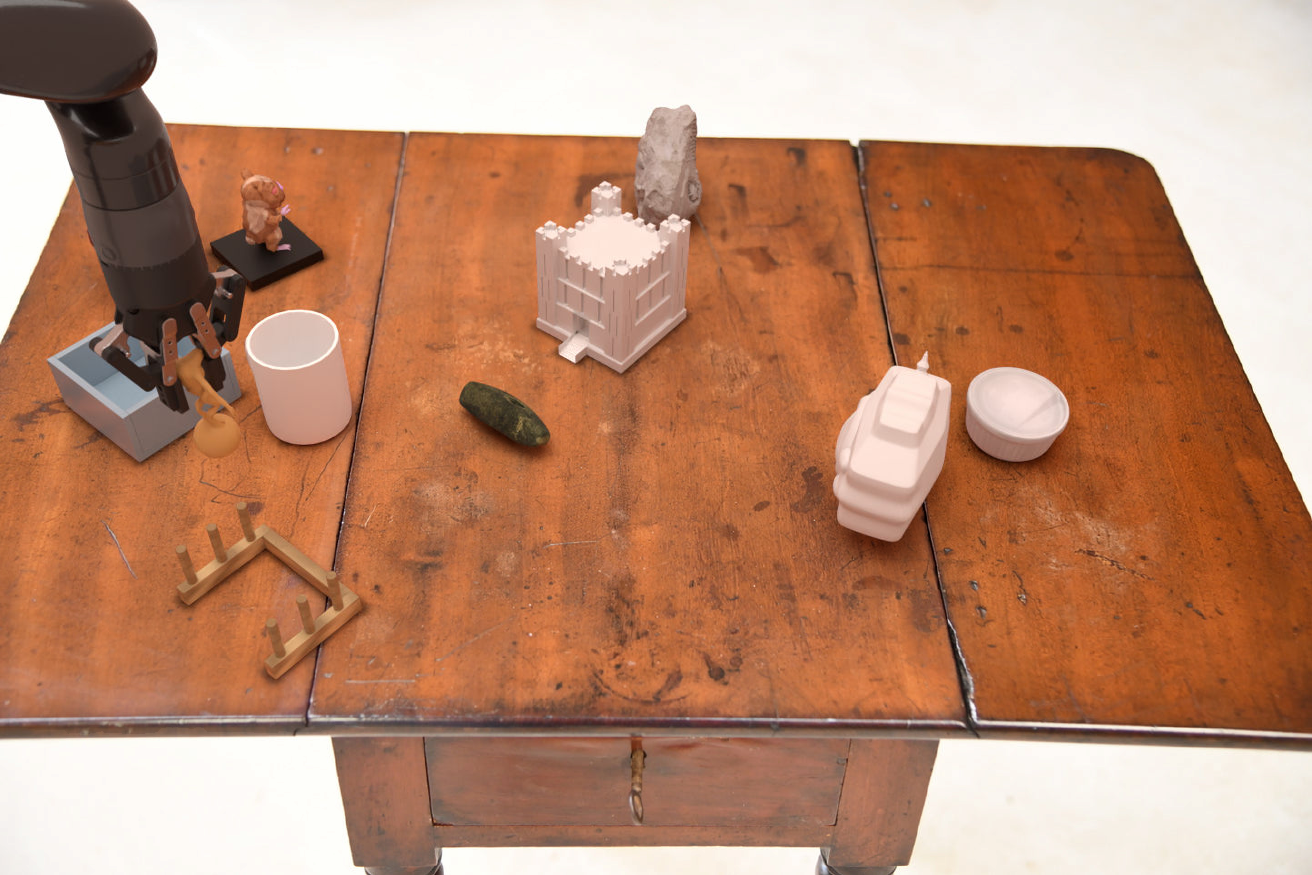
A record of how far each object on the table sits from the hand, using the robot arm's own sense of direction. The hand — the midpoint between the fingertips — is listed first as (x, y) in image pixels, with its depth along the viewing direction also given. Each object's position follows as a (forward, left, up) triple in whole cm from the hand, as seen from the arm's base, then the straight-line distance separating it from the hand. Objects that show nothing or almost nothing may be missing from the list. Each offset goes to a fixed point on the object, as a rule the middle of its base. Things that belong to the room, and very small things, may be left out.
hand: (196, 396), depth 108 cm
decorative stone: (+31, -5, -25) cm, 40 cm away
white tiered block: (+50, -42, -25) cm, 70 cm away
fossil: (+75, +7, -25) cm, 79 cm away
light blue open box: (+9, +28, -25) cm, 38 cm away
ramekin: (+68, -48, -25) cm, 87 cm away
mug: (+18, +14, -25) cm, 34 cm away
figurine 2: (+34, +39, -25) cm, 57 cm away
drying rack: (-1, -4, -25) cm, 25 cm away
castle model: (+52, -2, -25) cm, 58 cm away
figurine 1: (-1, 0, -7) cm, 7 cm away
